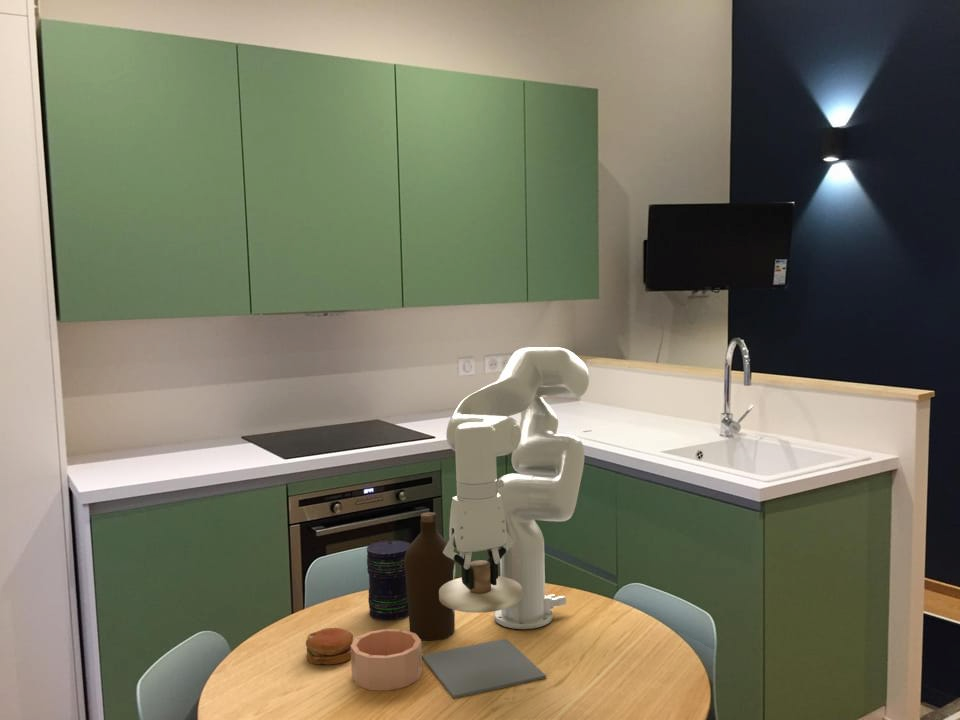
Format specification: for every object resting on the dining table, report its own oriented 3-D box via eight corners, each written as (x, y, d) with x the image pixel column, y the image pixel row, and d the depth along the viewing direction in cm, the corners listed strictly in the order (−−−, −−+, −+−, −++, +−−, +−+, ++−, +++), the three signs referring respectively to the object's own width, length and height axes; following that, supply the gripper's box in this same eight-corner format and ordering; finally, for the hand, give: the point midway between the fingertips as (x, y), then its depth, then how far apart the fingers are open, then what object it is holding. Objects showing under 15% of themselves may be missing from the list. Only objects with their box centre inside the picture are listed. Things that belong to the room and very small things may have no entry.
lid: (502, 576, 167) (501, 545, 166) (536, 603, 152) (535, 570, 152) (427, 589, 161) (426, 558, 160) (456, 618, 147) (455, 584, 146)
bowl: (409, 654, 164) (408, 624, 163) (430, 681, 152) (429, 649, 152) (346, 666, 159) (345, 636, 159) (362, 695, 148) (361, 663, 147)
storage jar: (411, 620, 181) (408, 553, 180) (365, 621, 181) (363, 554, 180) (415, 603, 191) (413, 539, 190) (372, 604, 191) (369, 540, 190)
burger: (358, 662, 162) (357, 638, 161) (309, 670, 159) (308, 646, 158) (349, 642, 171) (348, 620, 170) (303, 650, 168) (302, 627, 167)
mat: (506, 640, 169) (506, 638, 169) (546, 678, 152) (546, 675, 152) (421, 657, 162) (421, 655, 162) (453, 698, 146) (453, 695, 146)
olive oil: (414, 645, 168) (410, 523, 166) (401, 626, 178) (397, 511, 176) (464, 636, 172) (461, 517, 170) (448, 618, 182) (445, 505, 180)
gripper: (510, 479, 161) (512, 571, 163) (427, 490, 155) (431, 586, 157) (526, 488, 154) (529, 584, 156) (441, 499, 148) (444, 599, 150)
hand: (480, 584), depth 156 cm, fingers closed on lid, 4 cm apart
